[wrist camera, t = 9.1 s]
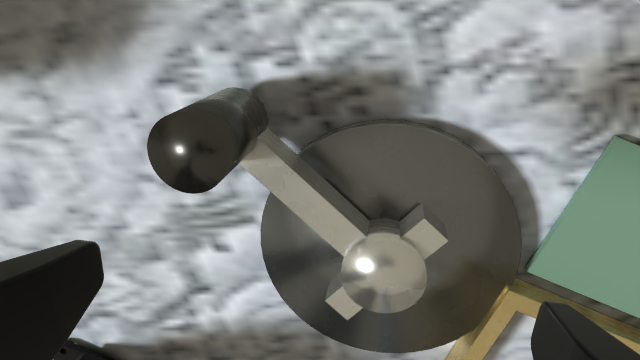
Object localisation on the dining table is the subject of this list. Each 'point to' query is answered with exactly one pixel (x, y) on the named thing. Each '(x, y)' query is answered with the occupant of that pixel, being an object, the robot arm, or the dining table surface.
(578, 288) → the felt pad
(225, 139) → the handwheel crank
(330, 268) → the crank base
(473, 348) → the gold square frame
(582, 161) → the dining table surface
